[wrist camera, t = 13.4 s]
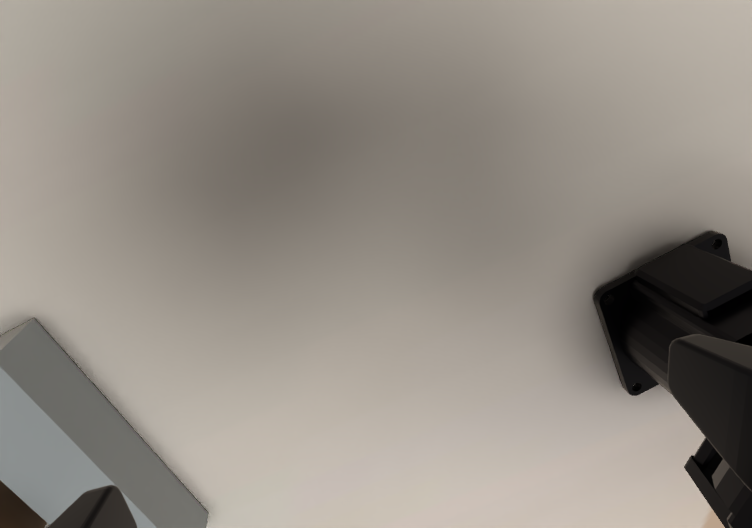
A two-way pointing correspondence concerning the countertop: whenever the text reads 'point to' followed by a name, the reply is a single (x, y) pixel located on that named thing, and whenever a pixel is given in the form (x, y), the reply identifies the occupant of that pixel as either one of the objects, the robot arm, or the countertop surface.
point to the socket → (76, 439)
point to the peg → (17, 511)
